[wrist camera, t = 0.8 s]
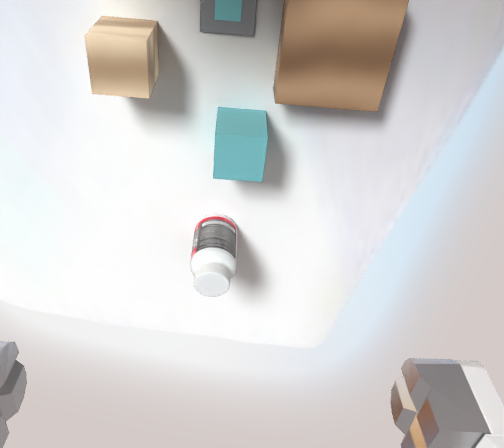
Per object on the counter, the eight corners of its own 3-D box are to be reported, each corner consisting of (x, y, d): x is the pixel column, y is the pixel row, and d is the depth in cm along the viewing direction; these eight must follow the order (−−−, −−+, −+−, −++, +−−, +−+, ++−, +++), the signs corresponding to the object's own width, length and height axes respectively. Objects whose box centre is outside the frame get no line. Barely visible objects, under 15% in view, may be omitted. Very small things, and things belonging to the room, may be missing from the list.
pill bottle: (189, 216, 57) (181, 272, 49) (231, 208, 56) (229, 263, 48) (202, 247, 60) (195, 304, 52) (241, 241, 59) (241, 297, 52)
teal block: (218, 106, 48) (215, 134, 43) (265, 110, 48) (267, 138, 43) (216, 148, 51) (213, 178, 46) (260, 152, 51) (262, 181, 46)
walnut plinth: (286, -22, 40) (290, -12, 37) (396, -11, 41) (409, 0, 38) (273, 87, 47) (275, 103, 44) (368, 95, 47) (377, 111, 44)
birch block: (102, 15, 42) (84, 35, 37) (157, 20, 42) (146, 40, 38) (108, 69, 45) (92, 93, 40) (159, 73, 45) (149, 98, 41)
